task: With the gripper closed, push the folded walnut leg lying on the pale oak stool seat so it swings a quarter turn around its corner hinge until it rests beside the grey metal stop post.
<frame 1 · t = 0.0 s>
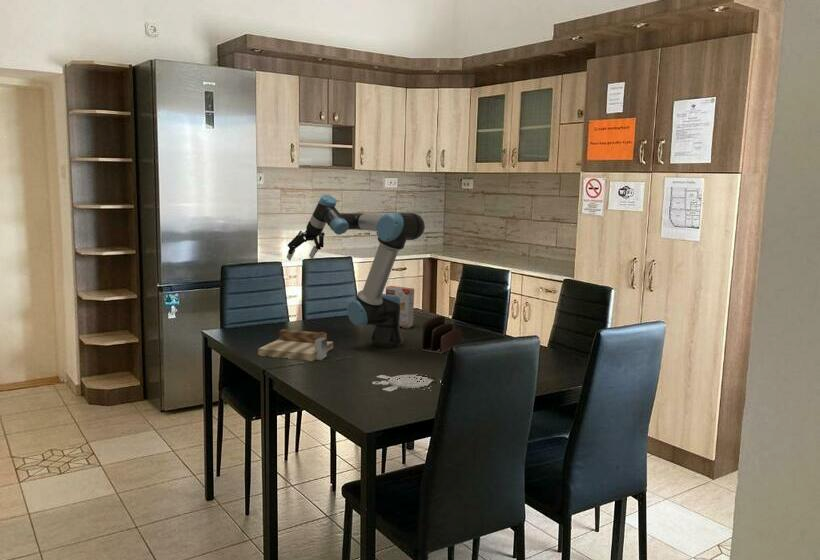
hand: (299, 258, 325), 36 cm above the table, tool tilted 35°, fingers open, 13 cm apart
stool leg: (303, 335, 293), point 5 cm above the table, hinge at 0.0°
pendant: (409, 384, 246), on the table
stop post: (320, 358, 277), on the table
muffin: (374, 323, 355), on the table
letter holder: (441, 349, 302), on the table
cracker box: (398, 327, 347), on the table
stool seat: (296, 351, 286), on the table
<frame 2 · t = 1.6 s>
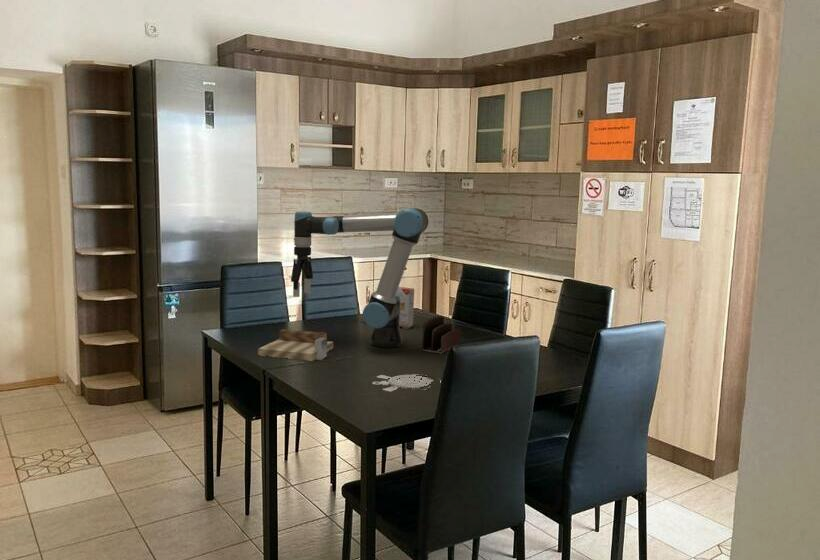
hand: (301, 294, 300), 22 cm above the table, tool pointing down, fingers open, 11 cm apart
nothing on the table moved.
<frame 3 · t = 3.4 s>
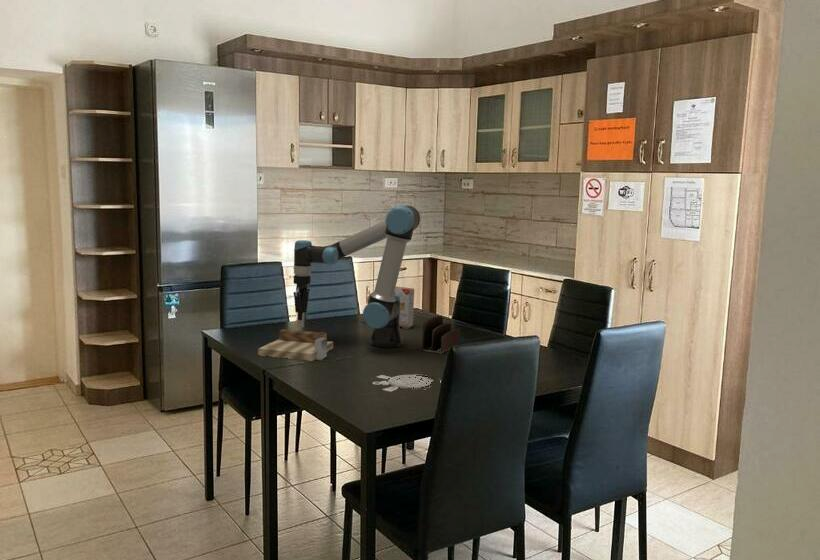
hand: (300, 326, 302), 8 cm above the table, tool pointing down, fingers closed
nothing on the table moved.
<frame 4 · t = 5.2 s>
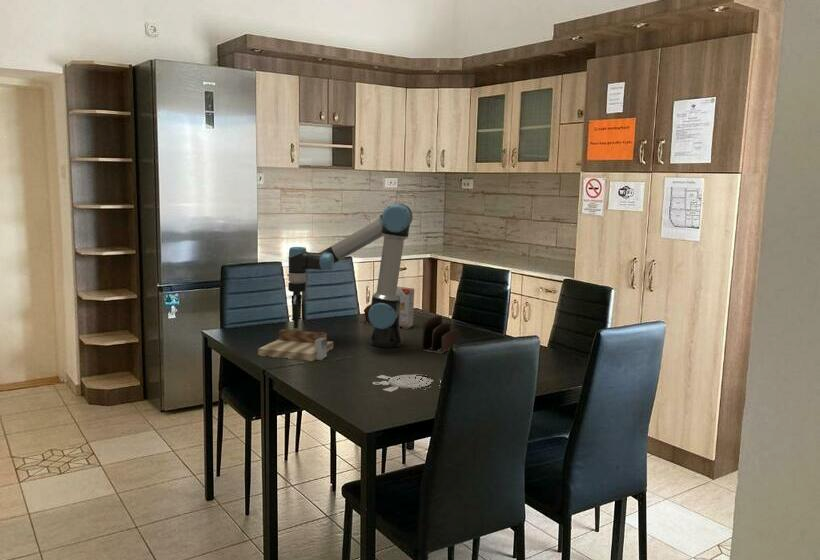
hand: (296, 334, 297), 5 cm above the table, tool pointing down, fingers closed
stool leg: (303, 335, 293), point 5 cm above the table, hinge at 0.6°, touching gripper
everything else where it was.
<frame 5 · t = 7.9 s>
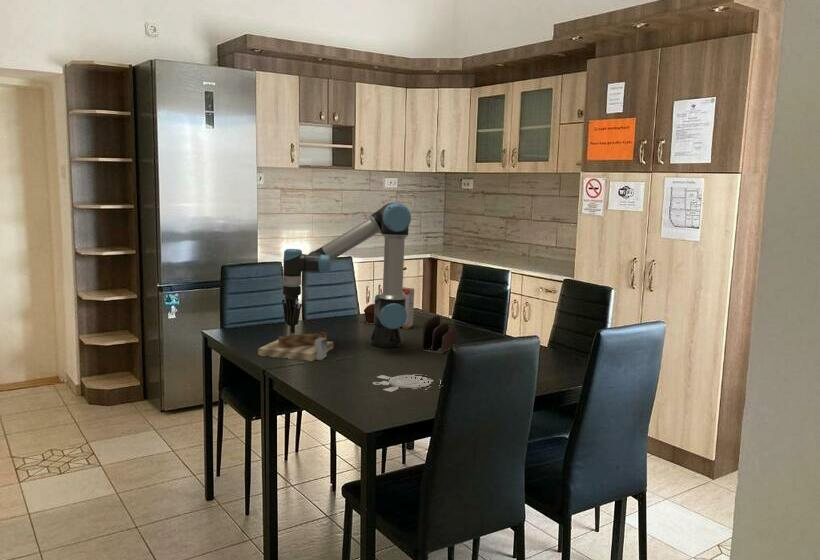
hand: (290, 339, 286), 5 cm above the table, tool pointing down, fingers closed
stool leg: (303, 339, 286), point 5 cm above the table, hinge at 47.8°, touching gripper
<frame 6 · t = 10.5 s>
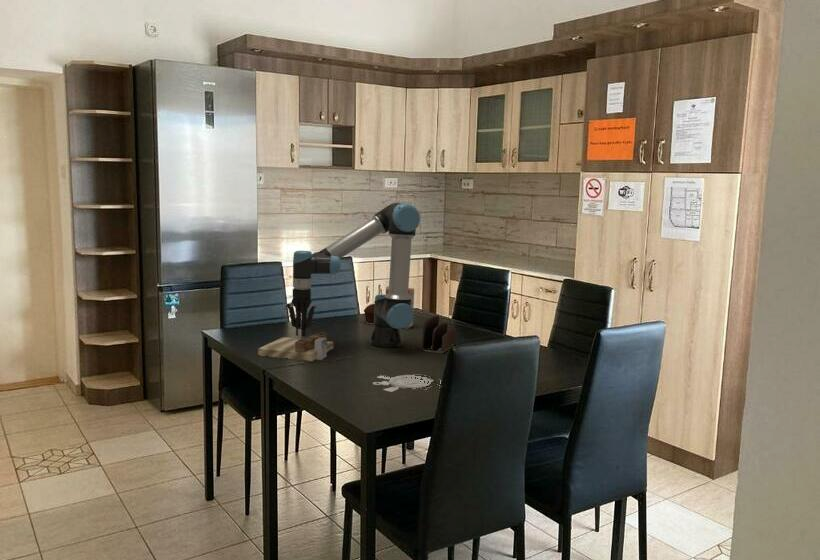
hand: (300, 343, 280), 5 cm above the table, tool pointing down, fingers closed
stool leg: (312, 341, 283), point 5 cm above the table, hinge at 83.8°, touching gripper
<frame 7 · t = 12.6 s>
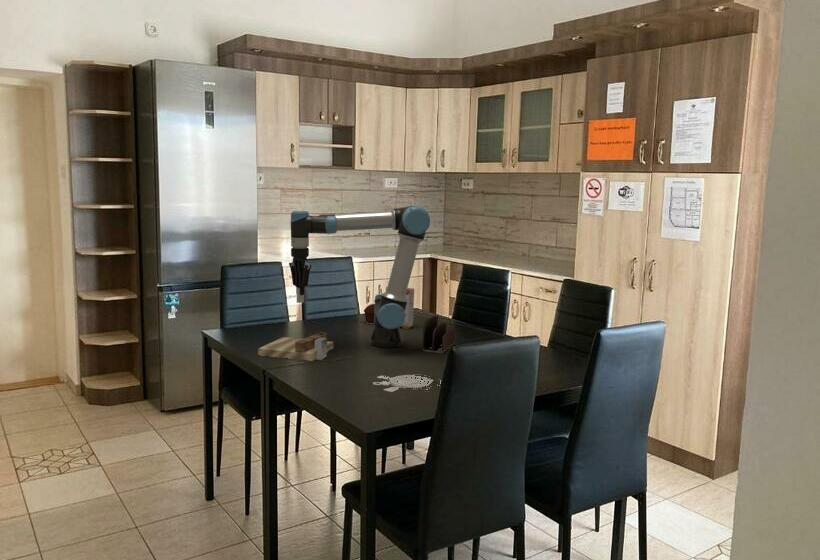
hand: (300, 302, 286), 21 cm above the table, tool pointing down, fingers closed
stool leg: (312, 341, 283), point 5 cm above the table, hinge at 83.8°
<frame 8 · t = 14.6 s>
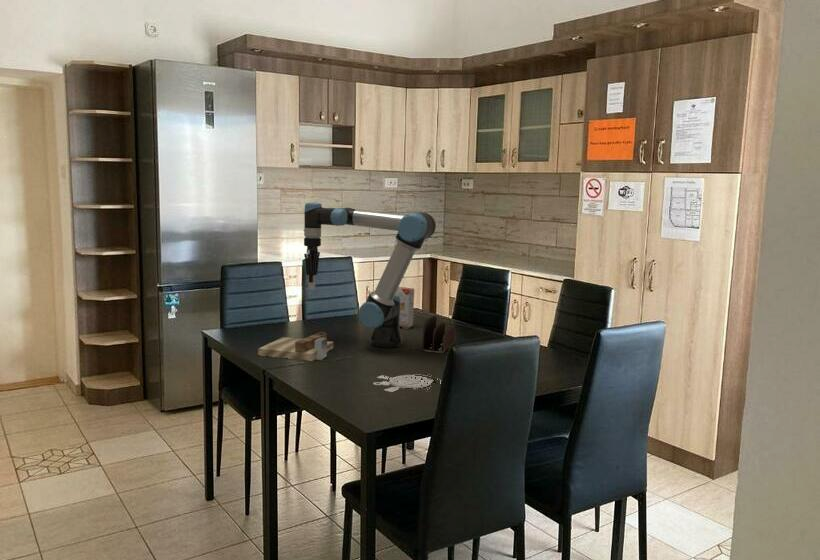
hand: (311, 289, 302), 24 cm above the table, tool pointing down, fingers closed
at the end: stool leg at +84° (first picture: +0°) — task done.
